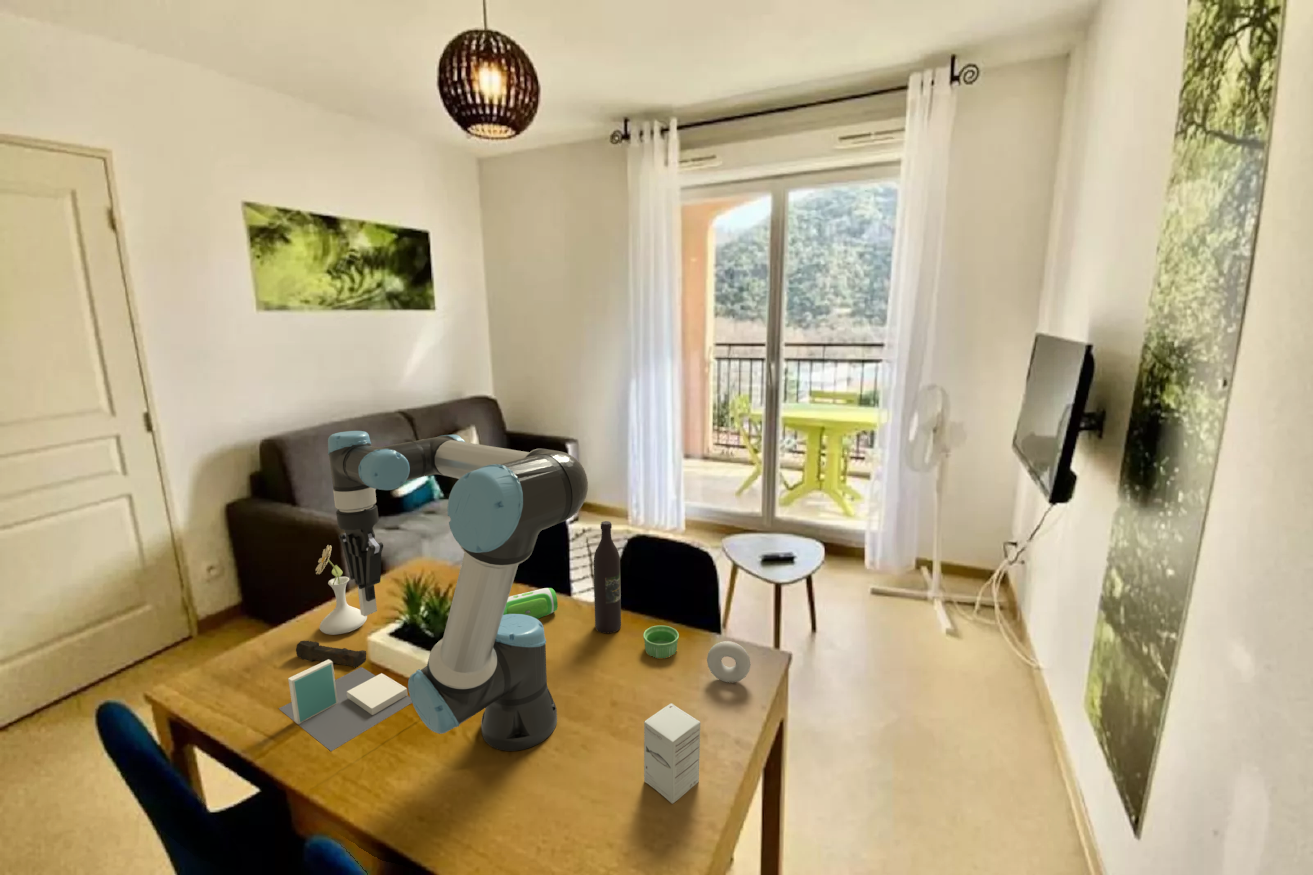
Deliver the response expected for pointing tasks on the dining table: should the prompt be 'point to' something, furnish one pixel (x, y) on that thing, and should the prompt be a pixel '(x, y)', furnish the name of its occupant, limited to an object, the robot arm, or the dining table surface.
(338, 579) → the flower in vase
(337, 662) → the hand tool
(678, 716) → the supplement box
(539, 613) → the speaker
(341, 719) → the mat
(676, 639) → the ramekin
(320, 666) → the tile near
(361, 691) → the tile far
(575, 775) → the dining table surface
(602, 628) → the wine bottle
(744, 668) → the donut
